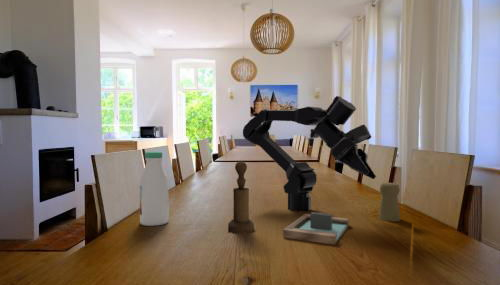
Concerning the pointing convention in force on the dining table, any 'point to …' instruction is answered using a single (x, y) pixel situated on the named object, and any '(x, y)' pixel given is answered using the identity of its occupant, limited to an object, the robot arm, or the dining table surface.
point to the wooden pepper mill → (241, 204)
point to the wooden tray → (312, 231)
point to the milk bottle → (153, 191)
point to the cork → (389, 202)
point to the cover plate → (334, 228)
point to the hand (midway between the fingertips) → (371, 175)
